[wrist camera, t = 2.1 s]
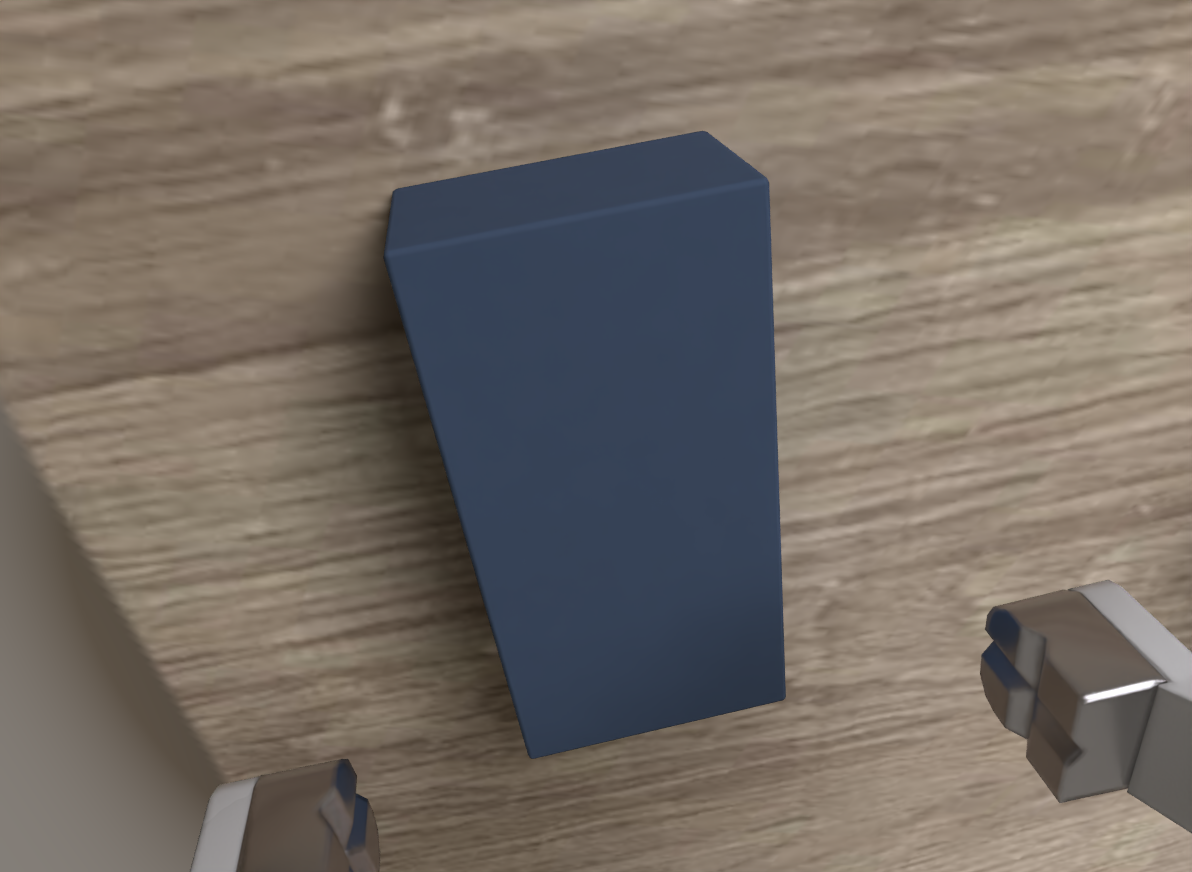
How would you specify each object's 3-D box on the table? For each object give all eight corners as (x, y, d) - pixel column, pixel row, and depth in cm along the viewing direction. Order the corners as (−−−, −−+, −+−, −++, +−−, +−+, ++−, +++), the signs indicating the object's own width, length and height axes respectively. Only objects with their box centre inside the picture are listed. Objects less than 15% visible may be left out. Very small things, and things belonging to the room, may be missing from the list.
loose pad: (391, 188, 13) (380, 253, 10) (706, 128, 13) (771, 177, 11) (515, 646, 18) (529, 762, 16) (739, 595, 19) (787, 701, 16)
